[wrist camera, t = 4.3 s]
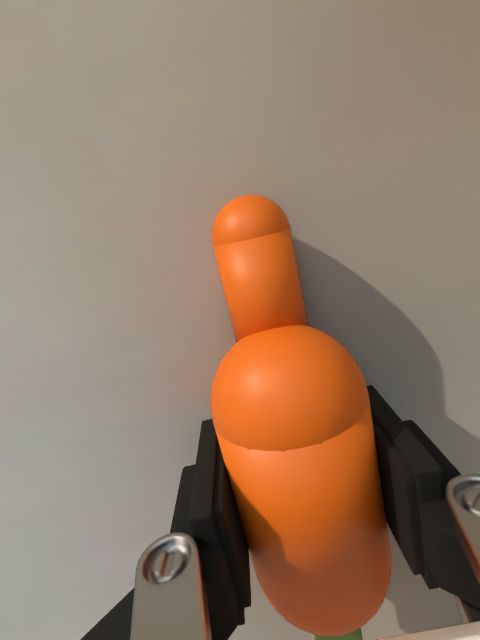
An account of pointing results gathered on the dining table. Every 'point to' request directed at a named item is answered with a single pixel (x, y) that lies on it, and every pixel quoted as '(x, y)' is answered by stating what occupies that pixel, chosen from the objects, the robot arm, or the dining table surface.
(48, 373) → the dining table surface
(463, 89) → the dining table surface
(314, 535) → the carrot
